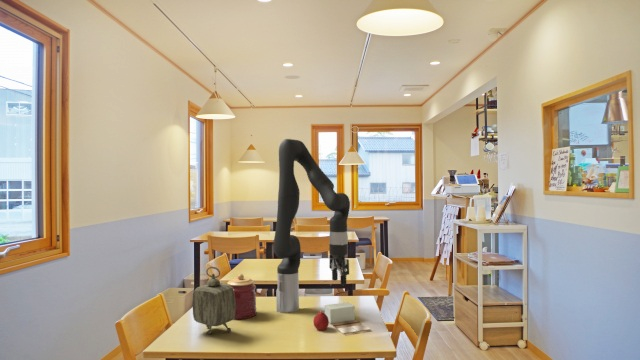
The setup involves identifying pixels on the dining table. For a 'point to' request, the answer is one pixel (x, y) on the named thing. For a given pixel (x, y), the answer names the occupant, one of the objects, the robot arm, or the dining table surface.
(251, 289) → the canister
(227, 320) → the tabletop clock
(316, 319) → the onion
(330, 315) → the block
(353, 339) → the dining table surface
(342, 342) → the dining table surface
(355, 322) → the board
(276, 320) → the dining table surface
